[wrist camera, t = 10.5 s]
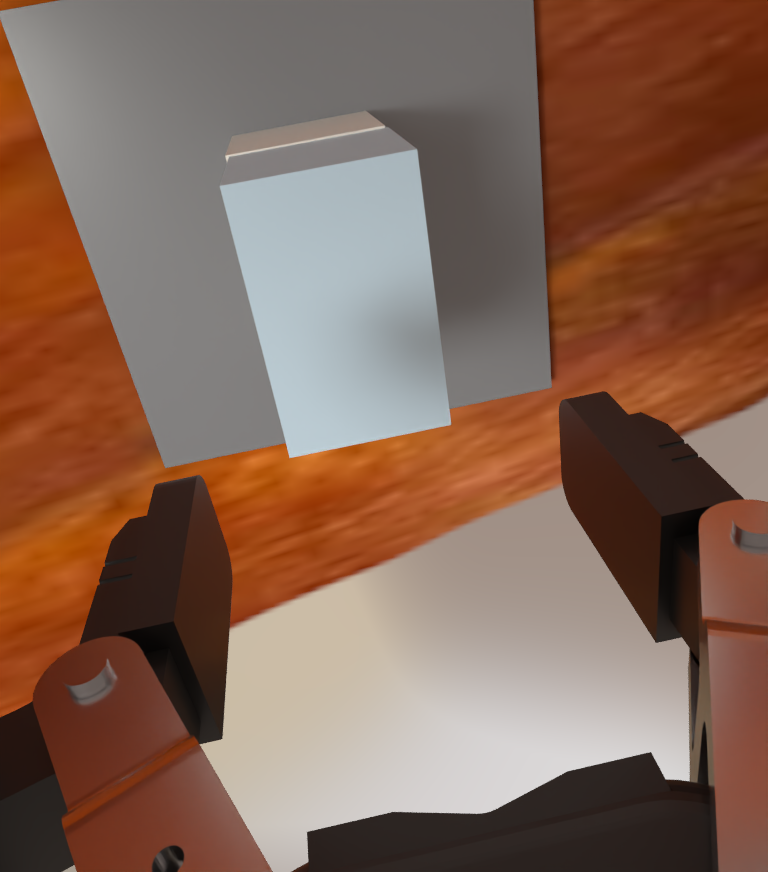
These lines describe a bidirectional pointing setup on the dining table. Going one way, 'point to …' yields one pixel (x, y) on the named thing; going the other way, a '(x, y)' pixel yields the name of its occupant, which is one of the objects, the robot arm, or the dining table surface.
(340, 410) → the pale blue brick
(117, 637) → the robot arm
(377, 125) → the cream base brick
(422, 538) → the dining table surface
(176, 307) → the charcoal baseplate
